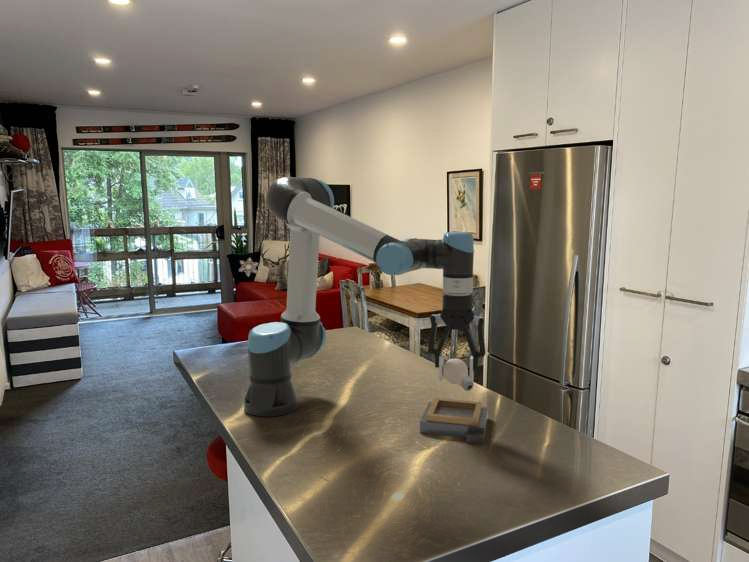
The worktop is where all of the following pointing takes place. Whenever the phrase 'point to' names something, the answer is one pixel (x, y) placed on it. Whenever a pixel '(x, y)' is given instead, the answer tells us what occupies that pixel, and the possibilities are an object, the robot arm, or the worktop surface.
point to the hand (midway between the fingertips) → (456, 380)
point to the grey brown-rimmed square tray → (455, 419)
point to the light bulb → (457, 373)
